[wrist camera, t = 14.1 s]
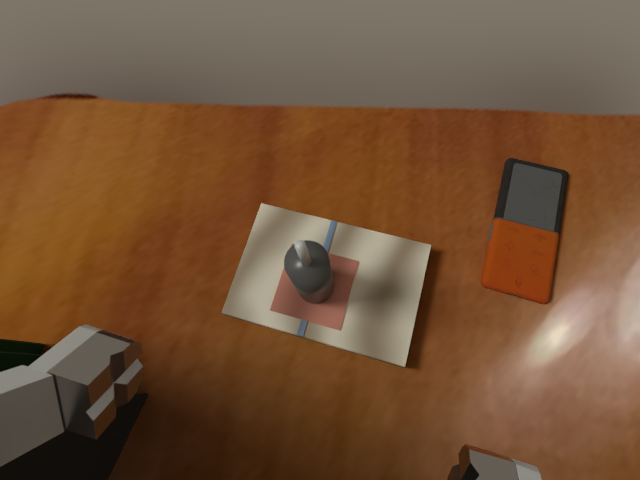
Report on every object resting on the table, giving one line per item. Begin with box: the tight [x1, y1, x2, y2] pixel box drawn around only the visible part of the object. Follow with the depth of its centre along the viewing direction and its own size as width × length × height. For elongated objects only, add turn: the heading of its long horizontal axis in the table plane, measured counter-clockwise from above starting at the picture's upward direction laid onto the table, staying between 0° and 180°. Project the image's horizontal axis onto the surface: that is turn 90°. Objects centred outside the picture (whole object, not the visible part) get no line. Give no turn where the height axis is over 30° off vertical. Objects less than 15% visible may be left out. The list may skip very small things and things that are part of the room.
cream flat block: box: [222, 203, 431, 367], centre depth 40 cm, size 18×12×2 cm, turn 74°
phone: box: [481, 158, 568, 304], centre depth 41 cm, size 6×1×15 cm
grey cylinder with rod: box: [284, 240, 334, 304], centre depth 33 cm, size 4×4×12 cm
